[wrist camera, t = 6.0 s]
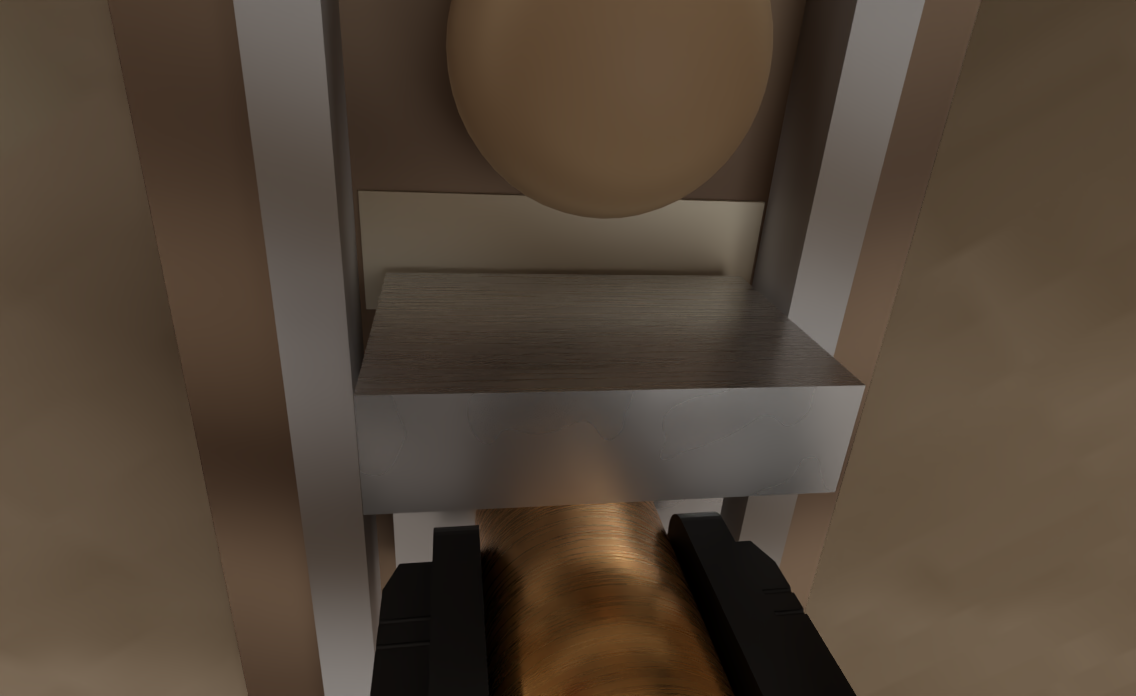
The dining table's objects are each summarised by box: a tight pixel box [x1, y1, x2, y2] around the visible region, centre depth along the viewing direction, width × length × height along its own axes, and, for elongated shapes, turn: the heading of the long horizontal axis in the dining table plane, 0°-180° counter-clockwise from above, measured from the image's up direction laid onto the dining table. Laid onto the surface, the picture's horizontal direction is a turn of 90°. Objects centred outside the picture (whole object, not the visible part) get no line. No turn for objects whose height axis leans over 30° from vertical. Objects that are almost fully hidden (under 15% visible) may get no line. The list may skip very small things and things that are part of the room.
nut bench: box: [108, 0, 981, 696], centre depth 13 cm, size 25×13×6 cm, turn 176°
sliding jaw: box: [354, 273, 866, 696], centre depth 9 cm, size 6×6×9 cm
